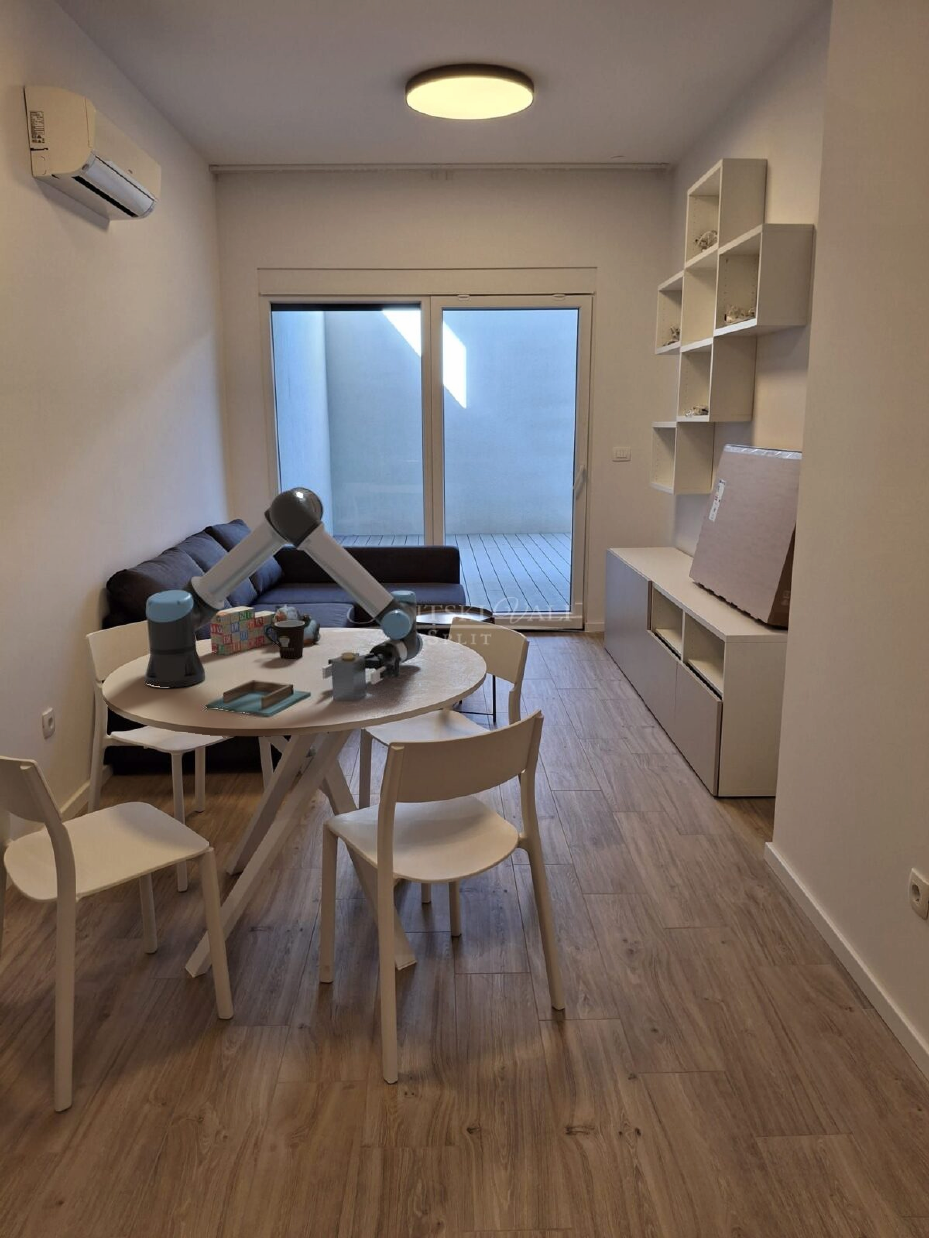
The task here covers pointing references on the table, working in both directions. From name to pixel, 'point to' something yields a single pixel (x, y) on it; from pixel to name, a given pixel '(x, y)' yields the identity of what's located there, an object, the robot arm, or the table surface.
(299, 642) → the coffee mug
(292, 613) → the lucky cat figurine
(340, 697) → the grey block with knob
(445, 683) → the table surface
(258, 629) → the stack of blocks
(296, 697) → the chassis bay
